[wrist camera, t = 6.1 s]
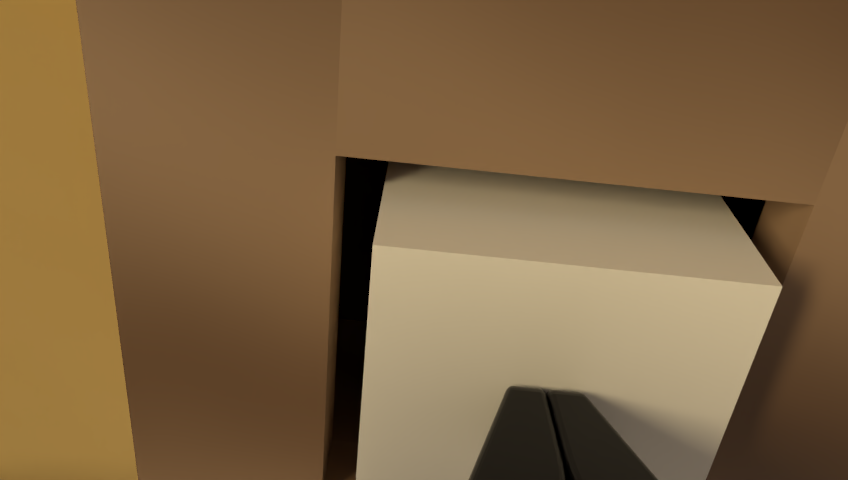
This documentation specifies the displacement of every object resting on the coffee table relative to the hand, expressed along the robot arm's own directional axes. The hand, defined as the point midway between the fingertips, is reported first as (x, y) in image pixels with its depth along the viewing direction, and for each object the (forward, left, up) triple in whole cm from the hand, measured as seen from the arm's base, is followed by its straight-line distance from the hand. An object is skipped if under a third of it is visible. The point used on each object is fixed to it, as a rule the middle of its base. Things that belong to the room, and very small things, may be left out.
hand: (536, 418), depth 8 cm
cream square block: (0, 0, -3) cm, 3 cm away
